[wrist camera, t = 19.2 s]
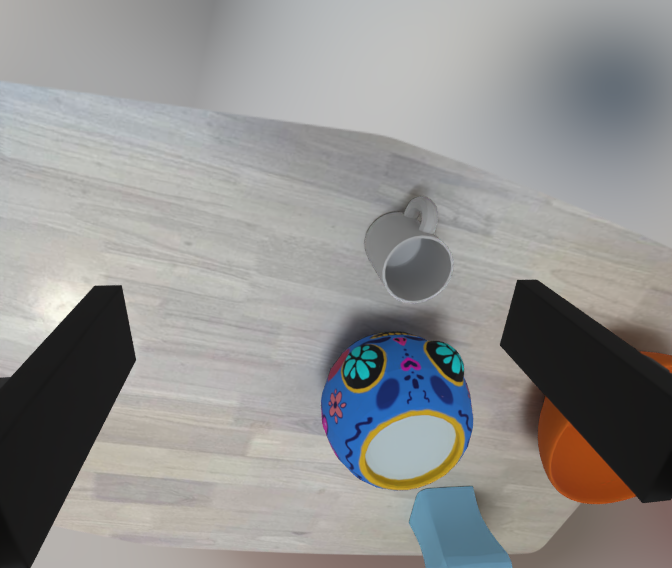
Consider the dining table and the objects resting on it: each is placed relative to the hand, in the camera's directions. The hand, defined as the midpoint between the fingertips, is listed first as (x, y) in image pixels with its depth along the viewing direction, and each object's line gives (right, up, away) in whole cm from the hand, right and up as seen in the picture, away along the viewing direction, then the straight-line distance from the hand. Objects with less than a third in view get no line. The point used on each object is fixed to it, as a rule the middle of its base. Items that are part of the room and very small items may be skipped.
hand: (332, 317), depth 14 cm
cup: (+7, +7, +33) cm, 35 cm away
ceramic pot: (+6, -10, +41) cm, 43 cm away
